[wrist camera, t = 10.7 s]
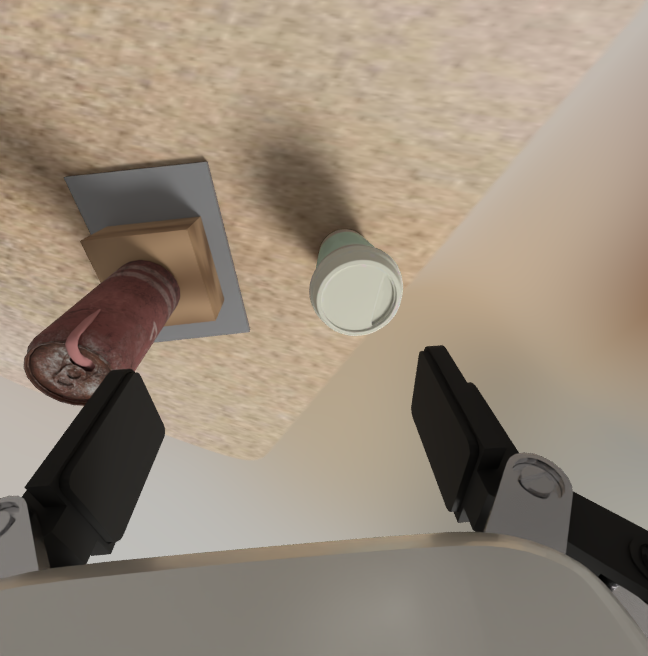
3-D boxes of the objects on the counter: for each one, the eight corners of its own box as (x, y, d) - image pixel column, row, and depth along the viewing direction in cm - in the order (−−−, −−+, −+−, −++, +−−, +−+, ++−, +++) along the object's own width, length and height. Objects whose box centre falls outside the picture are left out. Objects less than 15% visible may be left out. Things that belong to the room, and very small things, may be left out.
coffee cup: (345, 299, 42) (359, 356, 32) (292, 257, 38) (289, 306, 28) (394, 249, 39) (428, 294, 28) (341, 199, 35) (358, 230, 25)
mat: (67, 176, 32) (63, 177, 32) (207, 161, 32) (206, 162, 32) (144, 341, 43) (142, 343, 43) (250, 329, 43) (249, 332, 43)
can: (180, 260, 32) (113, 341, 20) (182, 316, 35) (125, 413, 23) (113, 250, 31) (1, 329, 19) (122, 308, 34) (30, 406, 22)
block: (106, 226, 35) (80, 241, 30) (200, 216, 35) (186, 229, 30) (143, 308, 40) (124, 330, 36) (224, 299, 40) (215, 320, 36)
